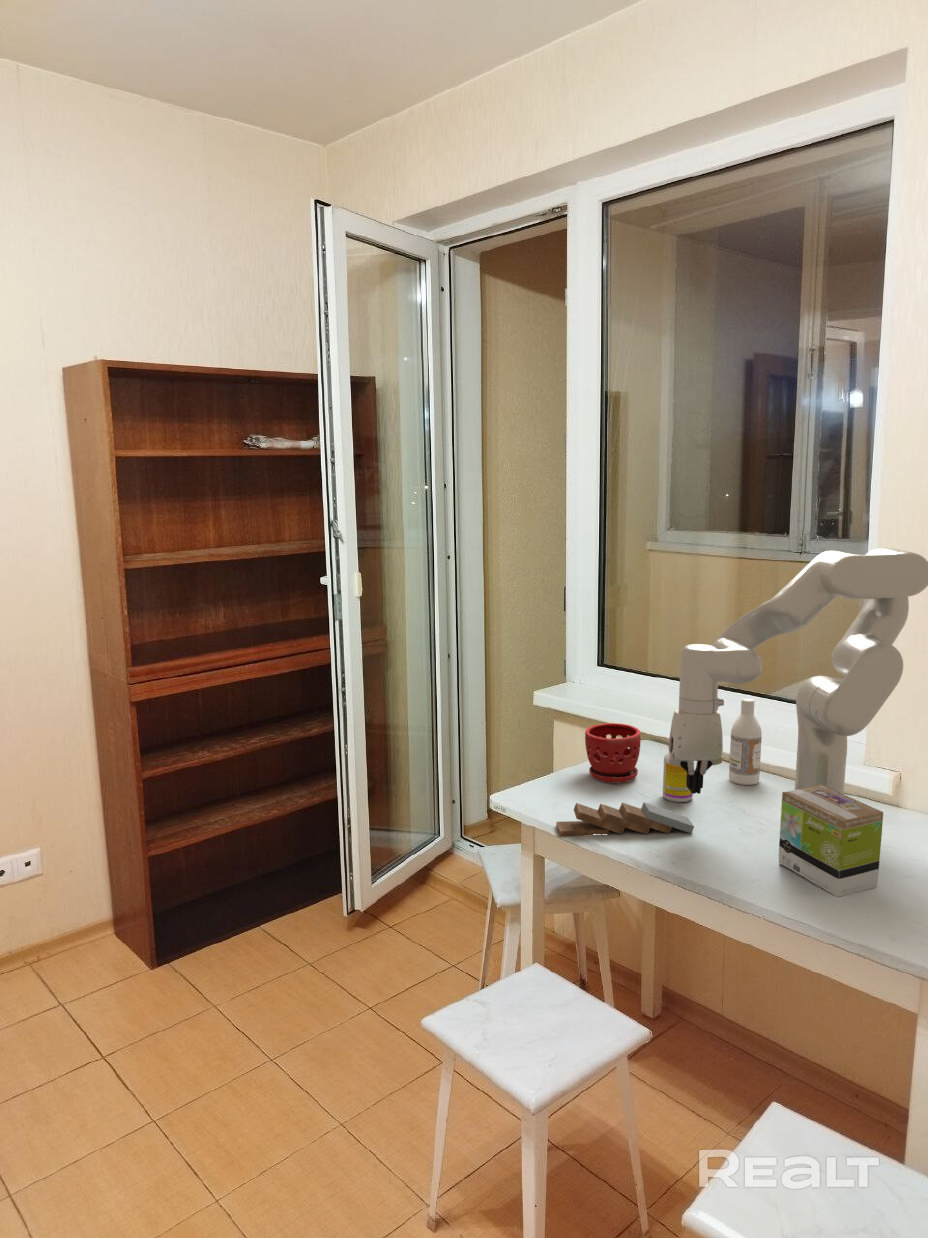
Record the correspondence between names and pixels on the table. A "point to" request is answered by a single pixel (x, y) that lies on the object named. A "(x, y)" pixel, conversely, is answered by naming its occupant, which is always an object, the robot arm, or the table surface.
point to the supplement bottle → (675, 782)
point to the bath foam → (745, 746)
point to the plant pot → (613, 752)
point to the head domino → (667, 817)
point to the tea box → (830, 839)
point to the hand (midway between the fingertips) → (694, 791)
